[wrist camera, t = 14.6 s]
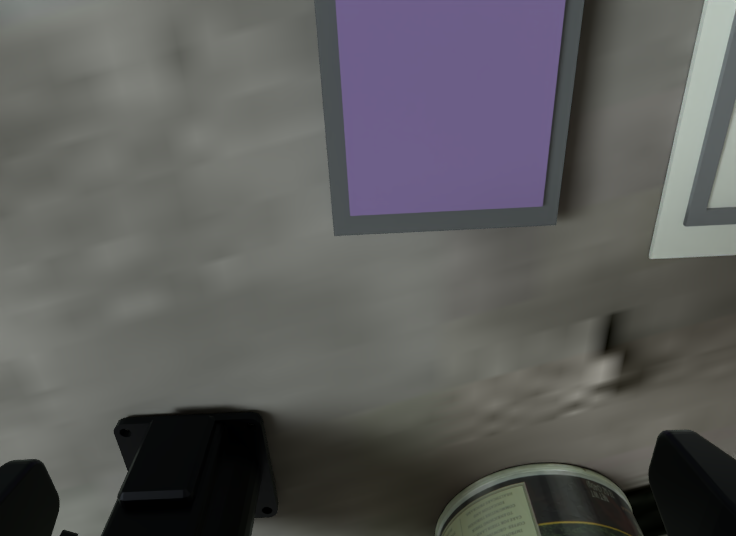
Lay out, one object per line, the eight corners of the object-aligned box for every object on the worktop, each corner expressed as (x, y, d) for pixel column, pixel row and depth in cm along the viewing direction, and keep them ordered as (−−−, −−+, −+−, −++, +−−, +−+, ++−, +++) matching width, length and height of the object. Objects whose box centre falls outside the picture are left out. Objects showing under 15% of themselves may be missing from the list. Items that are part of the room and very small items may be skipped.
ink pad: (544, 208, 20) (557, 227, 19) (335, 219, 21) (334, 238, 19) (580, -107, 16) (601, -114, 14) (310, -92, 16) (305, -97, 14)
